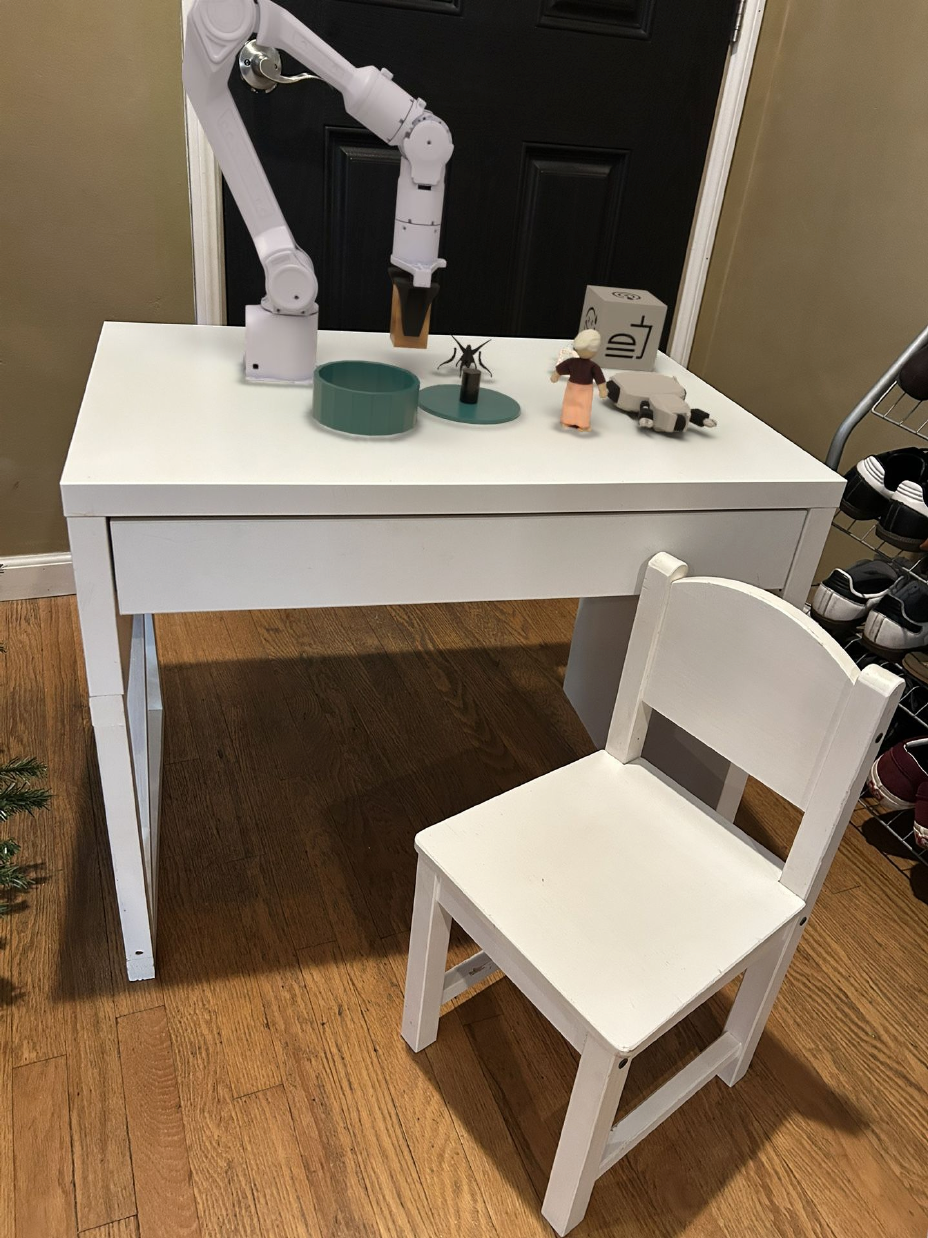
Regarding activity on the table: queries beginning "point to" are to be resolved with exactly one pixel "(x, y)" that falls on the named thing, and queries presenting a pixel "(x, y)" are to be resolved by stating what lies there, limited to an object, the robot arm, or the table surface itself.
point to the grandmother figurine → (581, 381)
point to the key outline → (570, 353)
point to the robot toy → (655, 401)
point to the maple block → (397, 331)
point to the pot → (365, 397)
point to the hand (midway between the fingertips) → (408, 330)
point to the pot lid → (468, 401)
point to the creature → (467, 356)
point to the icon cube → (624, 326)
